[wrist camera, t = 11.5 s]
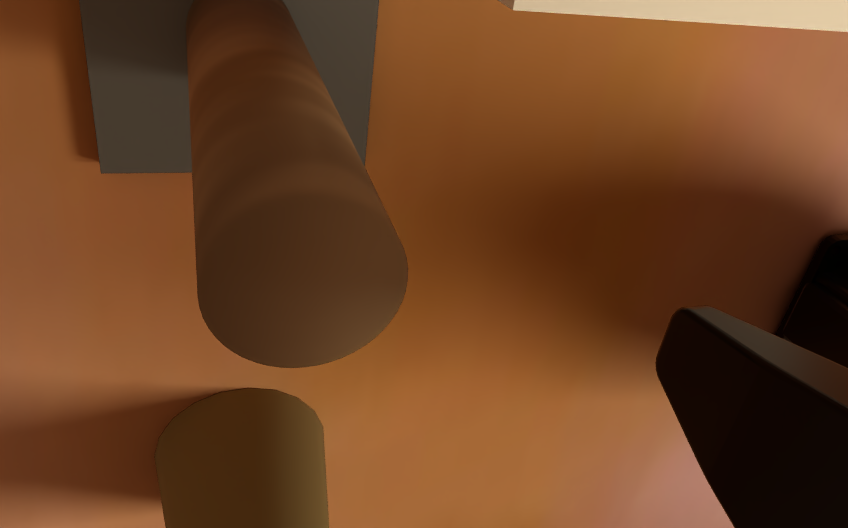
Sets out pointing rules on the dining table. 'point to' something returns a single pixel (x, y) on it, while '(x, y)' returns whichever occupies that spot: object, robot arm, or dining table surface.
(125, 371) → the dining table surface
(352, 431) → the dining table surface
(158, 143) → the pad
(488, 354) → the dining table surface
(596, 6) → the guard
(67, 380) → the dining table surface
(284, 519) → the cork
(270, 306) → the cylinder
